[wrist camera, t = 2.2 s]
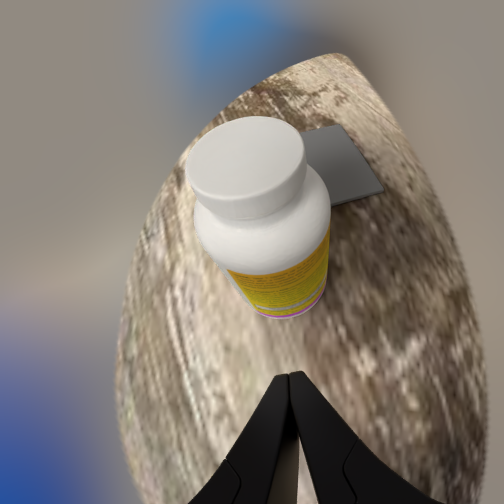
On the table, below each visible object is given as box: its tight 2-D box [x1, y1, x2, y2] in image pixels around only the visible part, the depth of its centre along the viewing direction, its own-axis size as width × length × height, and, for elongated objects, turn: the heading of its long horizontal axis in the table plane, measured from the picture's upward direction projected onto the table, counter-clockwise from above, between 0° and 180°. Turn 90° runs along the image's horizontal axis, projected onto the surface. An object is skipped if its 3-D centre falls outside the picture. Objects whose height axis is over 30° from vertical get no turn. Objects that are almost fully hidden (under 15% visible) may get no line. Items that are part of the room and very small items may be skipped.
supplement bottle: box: [185, 116, 331, 319], centre depth 15 cm, size 7×7×13 cm
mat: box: [299, 124, 384, 206], centre depth 25 cm, size 10×13×1 cm
